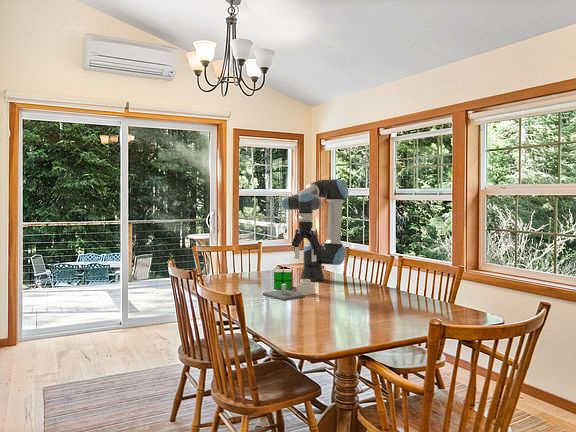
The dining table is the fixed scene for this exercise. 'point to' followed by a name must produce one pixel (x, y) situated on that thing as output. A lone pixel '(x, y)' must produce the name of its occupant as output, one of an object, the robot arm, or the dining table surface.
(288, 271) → the puzzle cube
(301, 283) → the knob
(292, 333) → the dining table surface
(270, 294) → the board
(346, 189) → the robot arm
